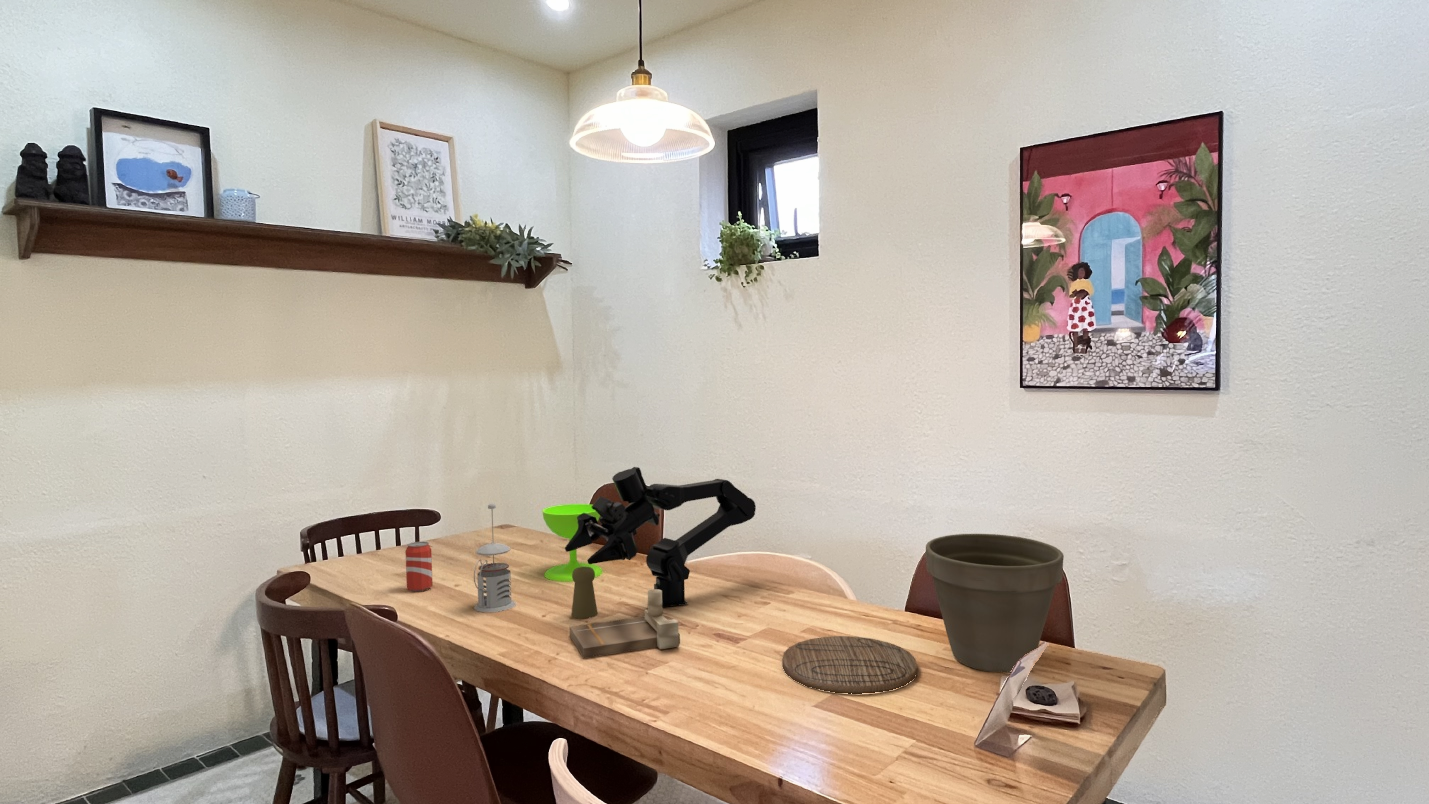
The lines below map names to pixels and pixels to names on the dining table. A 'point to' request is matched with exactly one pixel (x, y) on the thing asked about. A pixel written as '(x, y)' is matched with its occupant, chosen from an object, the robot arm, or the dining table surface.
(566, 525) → the wineglass
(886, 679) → the trivet
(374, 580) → the dining table surface
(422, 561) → the beverage can
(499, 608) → the french press
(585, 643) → the board
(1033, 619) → the plant pot
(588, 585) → the cork
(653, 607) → the lever handle
